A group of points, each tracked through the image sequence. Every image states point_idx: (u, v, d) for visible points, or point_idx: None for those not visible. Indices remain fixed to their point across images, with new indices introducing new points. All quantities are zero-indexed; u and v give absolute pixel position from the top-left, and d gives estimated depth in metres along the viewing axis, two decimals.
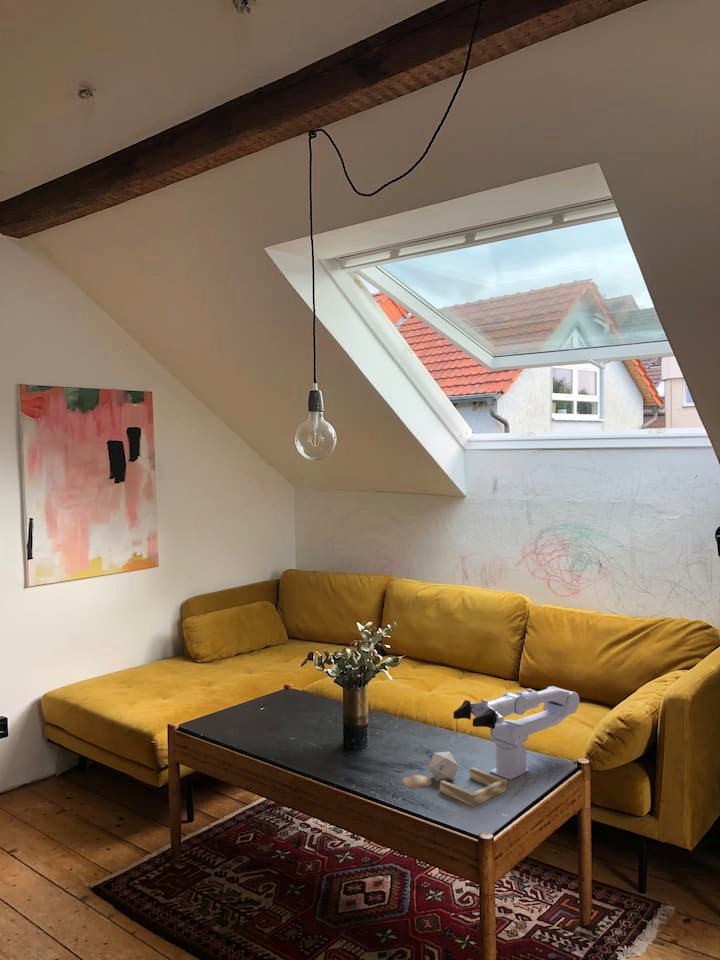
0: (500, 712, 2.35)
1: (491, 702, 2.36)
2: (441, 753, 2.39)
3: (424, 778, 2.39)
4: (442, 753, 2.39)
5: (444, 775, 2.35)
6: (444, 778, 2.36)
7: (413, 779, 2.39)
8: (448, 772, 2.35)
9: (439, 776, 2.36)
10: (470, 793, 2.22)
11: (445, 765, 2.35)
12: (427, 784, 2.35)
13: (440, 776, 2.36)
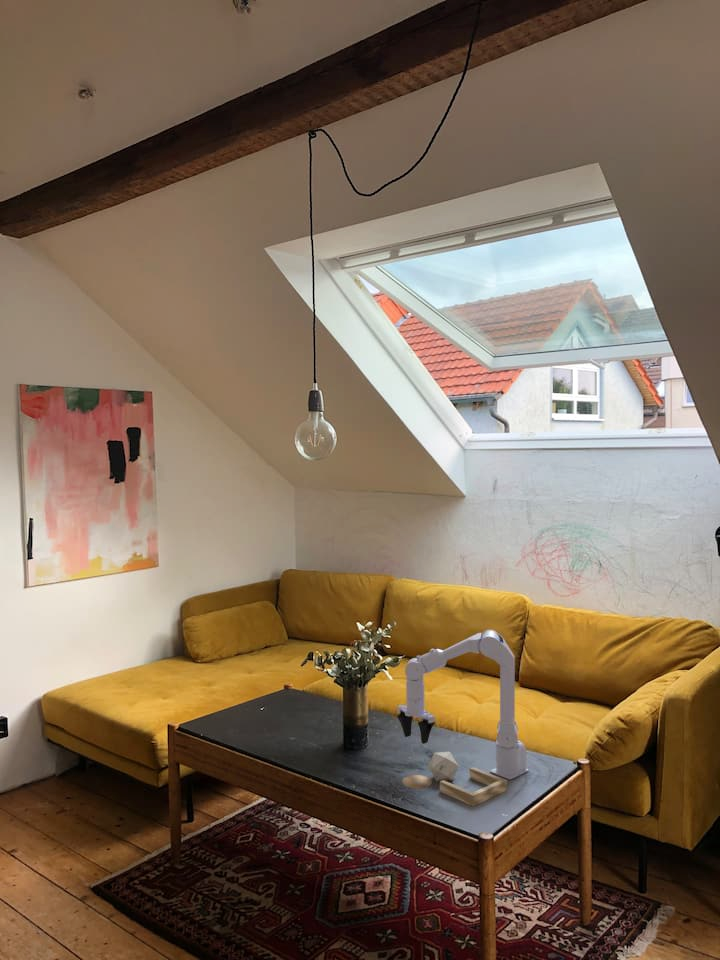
0: (421, 701, 2.45)
1: (410, 706, 2.45)
2: (441, 753, 2.39)
3: (424, 778, 2.39)
4: (442, 753, 2.39)
5: (444, 775, 2.35)
6: (444, 778, 2.36)
7: (413, 779, 2.39)
8: (448, 772, 2.35)
9: (439, 776, 2.36)
10: (470, 793, 2.22)
11: (445, 765, 2.35)
12: (427, 784, 2.35)
13: (440, 776, 2.36)
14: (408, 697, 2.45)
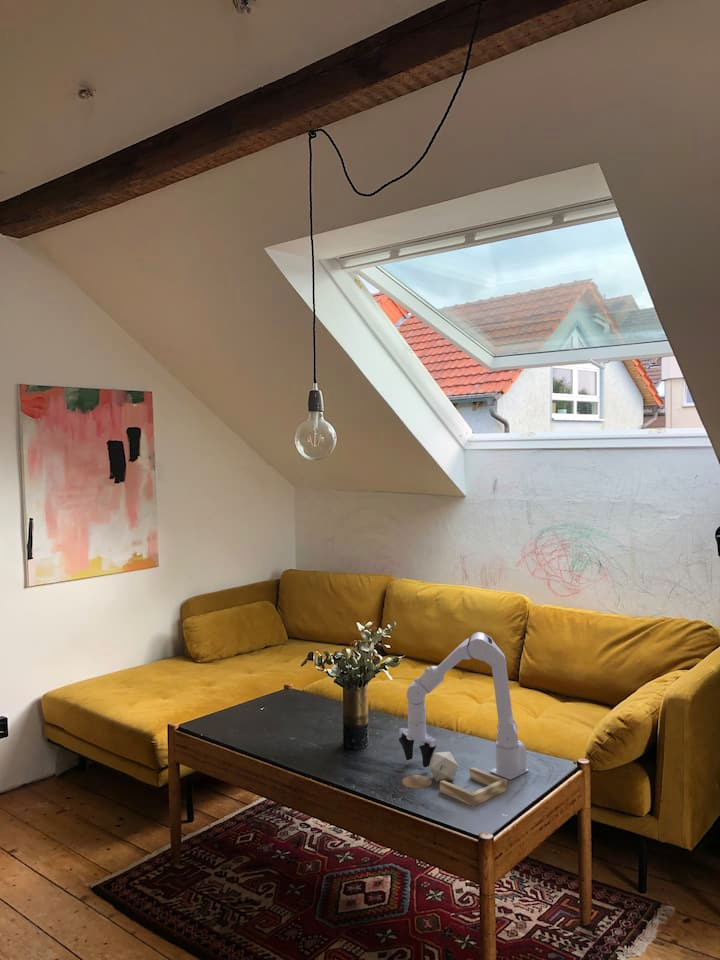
0: (423, 724, 2.45)
1: (412, 729, 2.45)
2: (441, 753, 2.39)
3: (424, 778, 2.39)
4: (442, 753, 2.39)
5: (444, 775, 2.35)
6: (444, 778, 2.36)
7: (413, 779, 2.39)
8: (448, 772, 2.35)
9: (439, 776, 2.36)
10: (470, 793, 2.22)
11: (445, 765, 2.35)
12: (427, 784, 2.35)
13: (440, 776, 2.36)
14: (410, 721, 2.45)
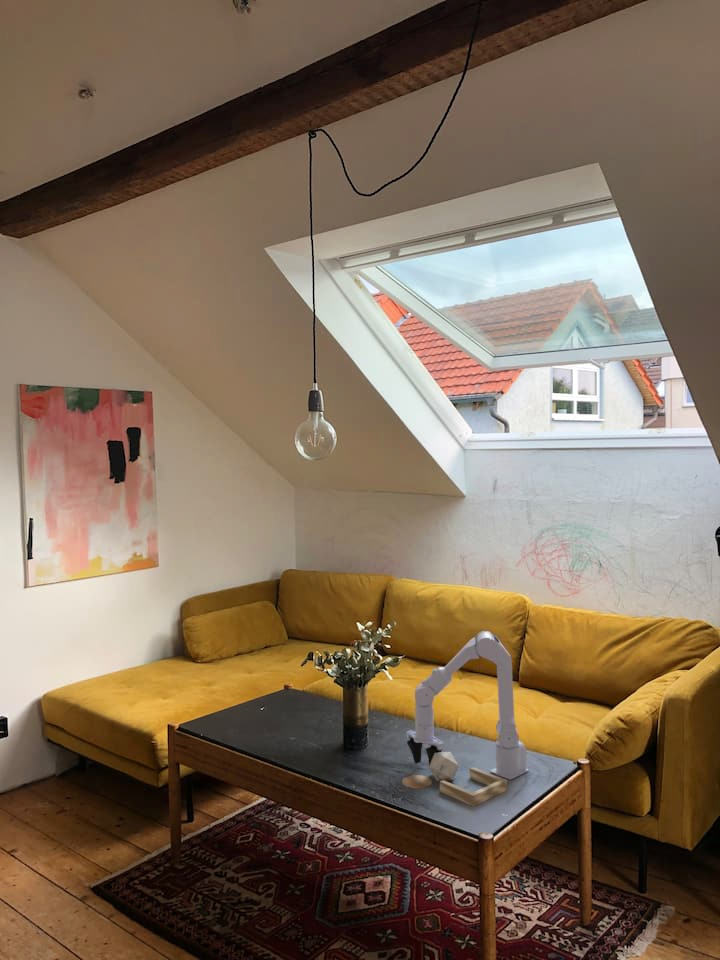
0: (430, 727, 2.42)
1: (419, 732, 2.42)
2: (442, 753, 2.39)
3: (424, 778, 2.39)
4: (443, 753, 2.39)
5: (444, 775, 2.35)
6: (444, 778, 2.36)
7: (413, 779, 2.39)
8: (448, 772, 2.35)
9: (439, 776, 2.36)
10: (470, 793, 2.22)
11: (445, 765, 2.35)
12: (427, 784, 2.35)
13: (440, 776, 2.35)
14: (418, 723, 2.42)
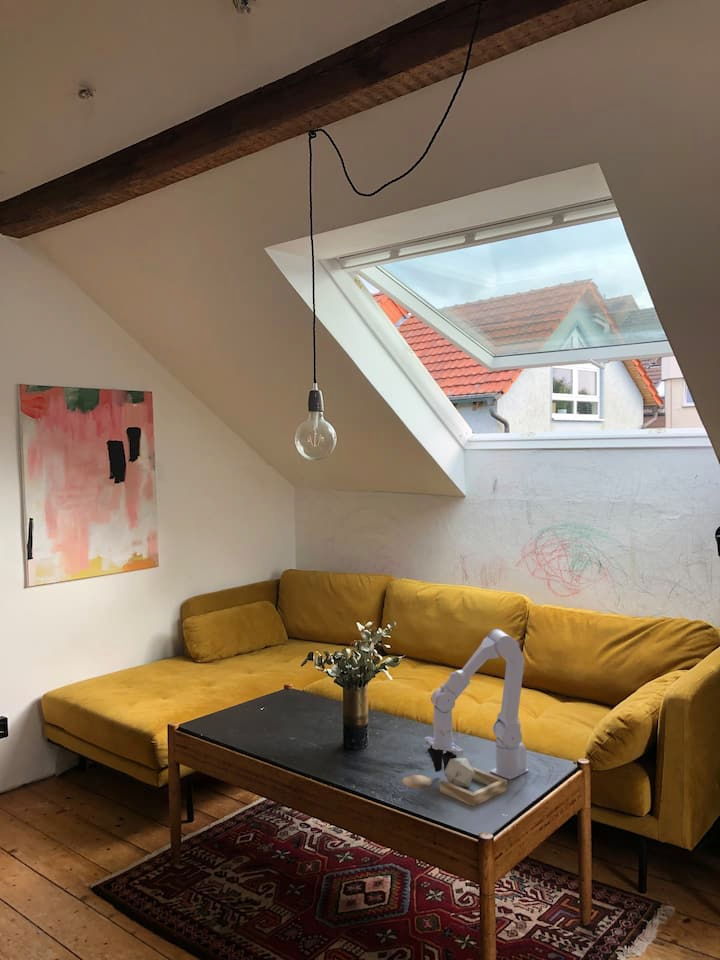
0: (449, 733, 2.36)
1: (438, 738, 2.36)
2: (457, 759, 2.34)
3: (424, 778, 2.39)
4: (458, 759, 2.34)
5: (460, 782, 2.30)
6: (459, 785, 2.31)
7: (413, 779, 2.39)
8: (464, 779, 2.30)
9: (454, 783, 2.31)
10: (470, 793, 2.22)
11: (461, 772, 2.30)
12: (427, 784, 2.35)
13: (455, 783, 2.31)
14: (438, 730, 2.36)
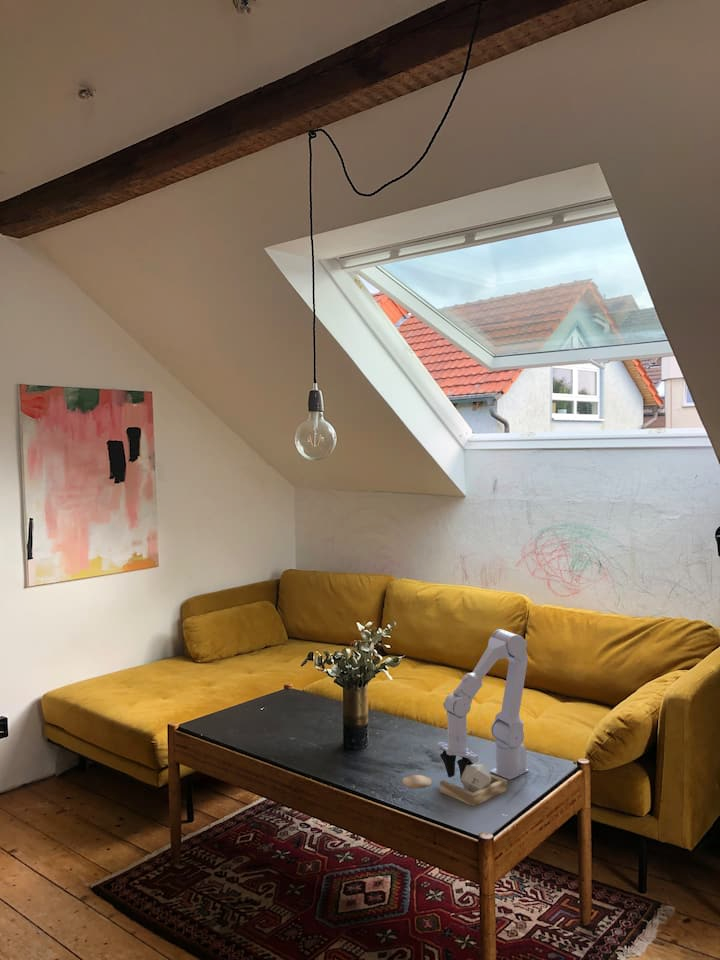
0: (464, 739, 2.32)
1: (452, 744, 2.32)
2: (474, 765, 2.29)
3: (424, 778, 2.39)
4: (475, 765, 2.29)
5: (477, 789, 2.25)
6: None
7: (413, 779, 2.39)
8: (481, 786, 2.25)
9: (472, 790, 2.26)
10: (470, 793, 2.22)
11: (478, 778, 2.25)
12: (427, 784, 2.35)
13: (473, 790, 2.26)
14: (455, 736, 2.31)
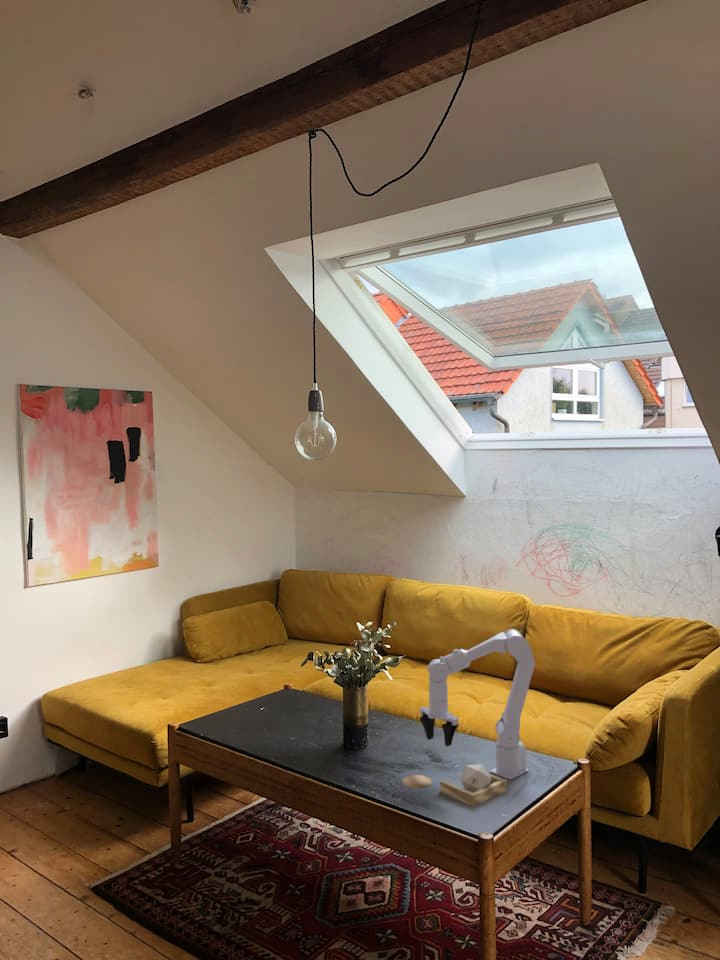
0: (445, 702, 2.40)
1: (433, 708, 2.40)
2: (473, 765, 2.29)
3: (424, 778, 2.39)
4: (474, 766, 2.29)
5: (477, 789, 2.25)
6: None
7: (413, 779, 2.39)
8: (481, 786, 2.25)
9: (471, 790, 2.26)
10: (470, 793, 2.22)
11: (478, 778, 2.25)
12: (427, 784, 2.35)
13: (472, 790, 2.26)
14: (432, 699, 2.40)
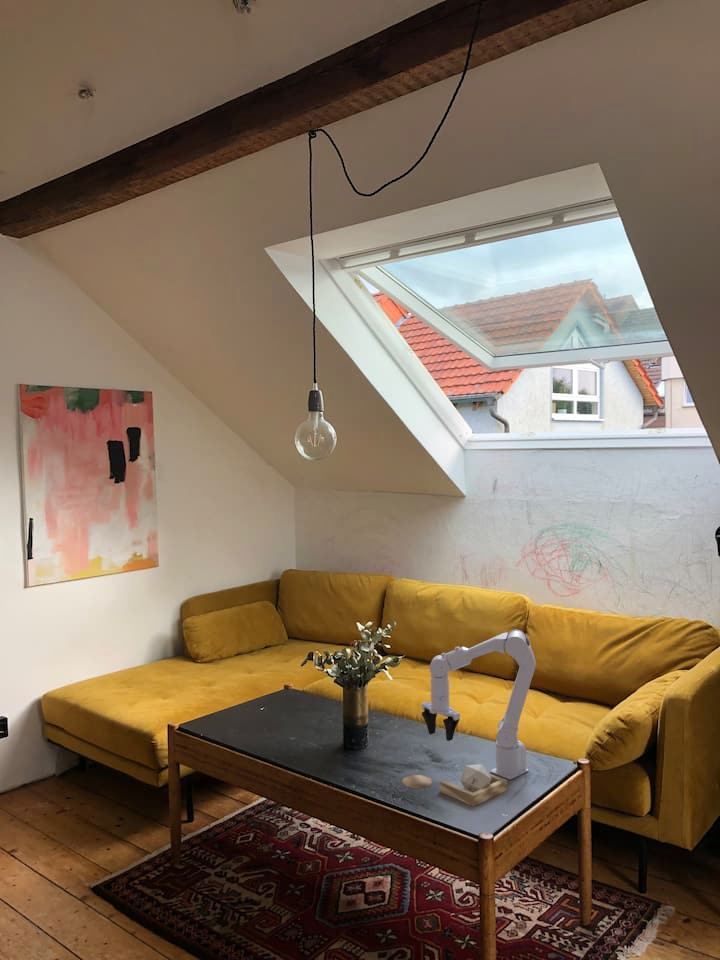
0: (446, 698, 2.44)
1: (435, 703, 2.44)
2: (473, 765, 2.29)
3: (424, 778, 2.39)
4: (474, 766, 2.29)
5: (477, 789, 2.25)
6: None
7: (413, 779, 2.39)
8: (481, 786, 2.25)
9: (471, 790, 2.26)
10: (470, 793, 2.22)
11: (478, 778, 2.25)
12: (427, 784, 2.35)
13: (472, 790, 2.26)
14: (433, 694, 2.45)
